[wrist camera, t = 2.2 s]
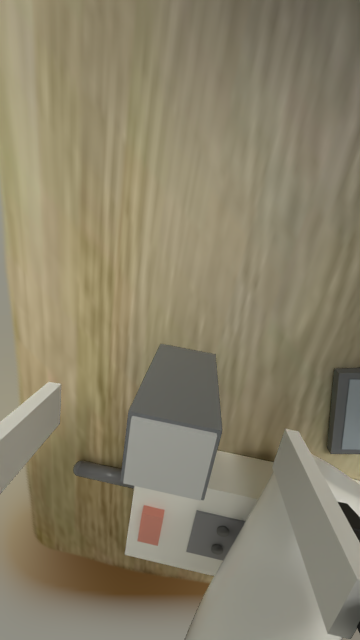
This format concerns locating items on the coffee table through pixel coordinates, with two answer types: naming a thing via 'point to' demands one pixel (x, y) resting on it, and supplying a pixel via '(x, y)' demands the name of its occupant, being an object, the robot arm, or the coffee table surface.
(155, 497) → the power strip
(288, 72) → the coffee table surface
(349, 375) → the phone slab
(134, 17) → the coffee table surface
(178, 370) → the block
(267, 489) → the drinking glass
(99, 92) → the coffee table surface
